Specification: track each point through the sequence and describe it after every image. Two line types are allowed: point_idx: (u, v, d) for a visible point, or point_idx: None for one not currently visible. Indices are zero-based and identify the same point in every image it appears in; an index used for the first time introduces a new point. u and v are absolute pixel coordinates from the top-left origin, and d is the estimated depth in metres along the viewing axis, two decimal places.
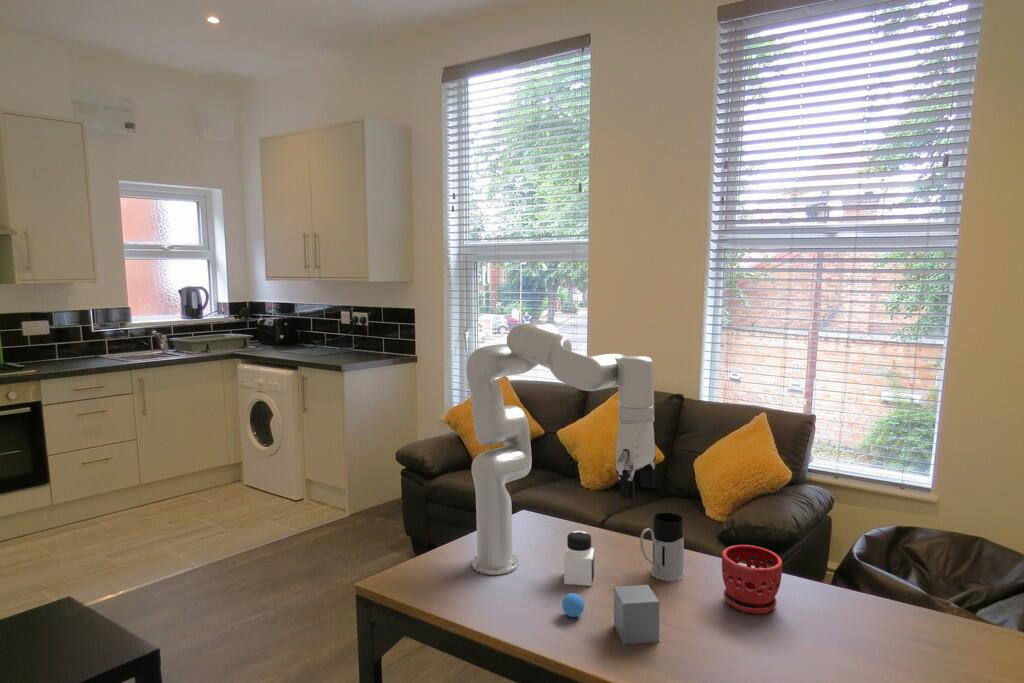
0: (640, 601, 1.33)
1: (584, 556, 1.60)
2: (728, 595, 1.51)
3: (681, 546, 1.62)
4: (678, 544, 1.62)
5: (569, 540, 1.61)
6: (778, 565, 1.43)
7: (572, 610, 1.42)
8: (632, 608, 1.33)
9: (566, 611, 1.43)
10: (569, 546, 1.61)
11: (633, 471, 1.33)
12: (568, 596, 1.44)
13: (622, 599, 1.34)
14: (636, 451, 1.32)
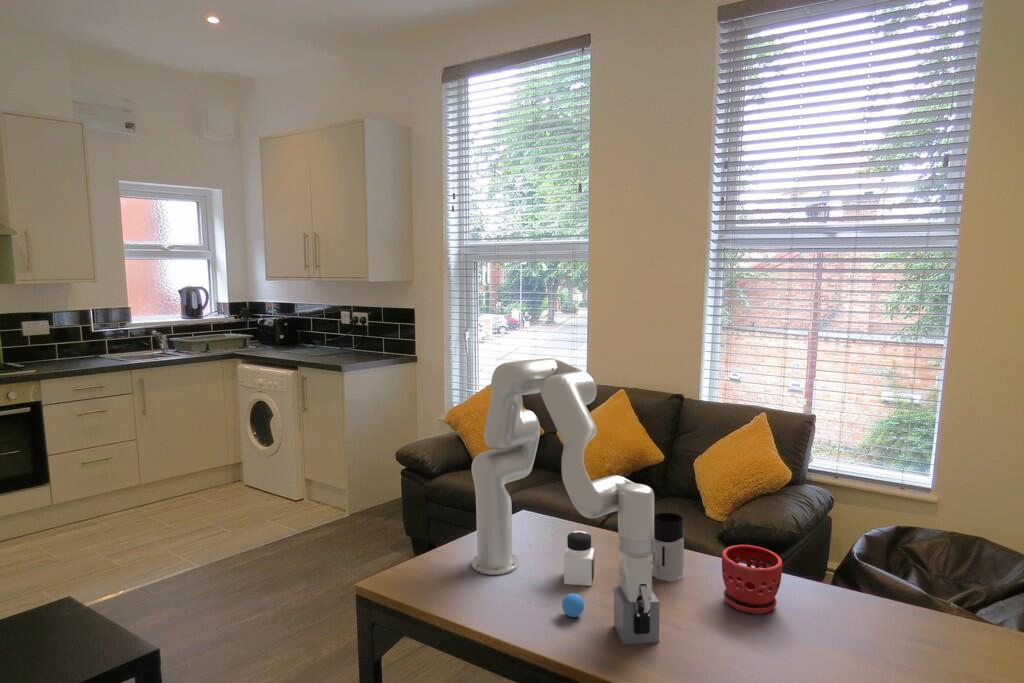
0: None
1: (584, 556, 1.60)
2: (728, 595, 1.51)
3: (681, 546, 1.62)
4: (678, 544, 1.62)
5: (569, 540, 1.61)
6: (778, 565, 1.43)
7: (572, 610, 1.42)
8: (633, 608, 1.33)
9: (566, 611, 1.43)
10: (569, 546, 1.61)
11: None
12: (568, 596, 1.44)
13: (622, 599, 1.34)
14: (651, 583, 1.32)
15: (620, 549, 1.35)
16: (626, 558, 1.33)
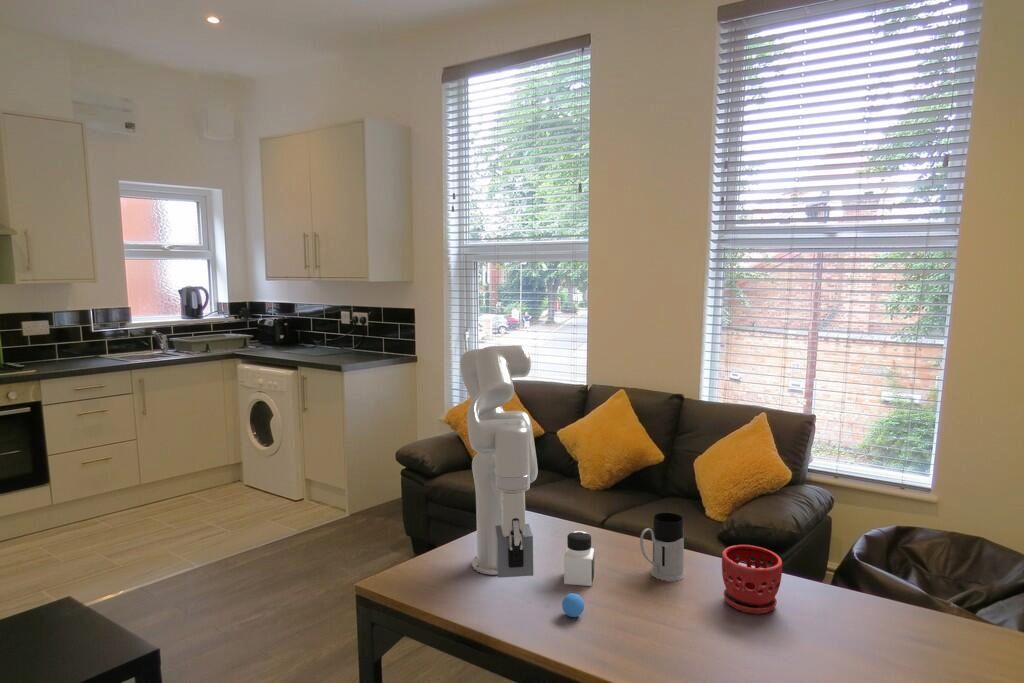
0: None
1: (584, 556, 1.60)
2: (728, 595, 1.51)
3: (681, 546, 1.62)
4: (678, 544, 1.62)
5: (569, 540, 1.61)
6: (778, 565, 1.43)
7: (572, 610, 1.42)
8: (507, 542, 1.38)
9: (566, 611, 1.43)
10: (569, 546, 1.61)
11: (521, 539, 1.38)
12: (568, 596, 1.44)
13: (498, 534, 1.40)
14: (524, 518, 1.38)
15: (496, 487, 1.40)
16: (502, 495, 1.39)
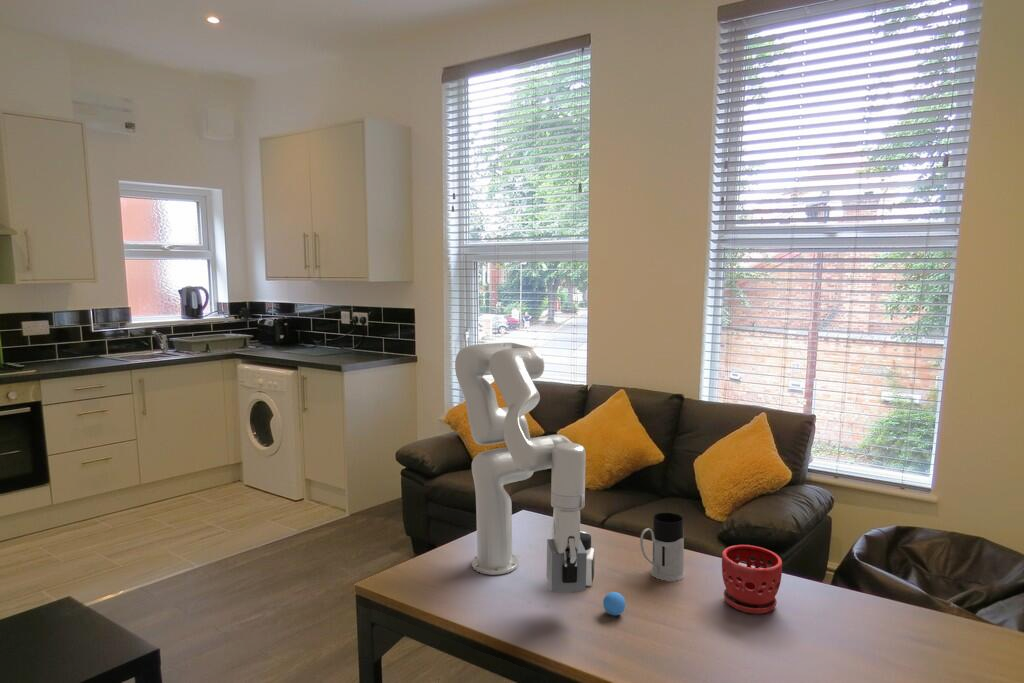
0: None
1: None
2: (728, 595, 1.51)
3: (681, 546, 1.62)
4: (678, 544, 1.62)
5: None
6: (778, 565, 1.43)
7: (618, 609, 1.43)
8: (561, 558, 1.41)
9: (623, 608, 1.44)
10: None
11: None
12: None
13: (552, 550, 1.42)
14: (579, 536, 1.40)
15: (552, 504, 1.42)
16: (557, 512, 1.41)
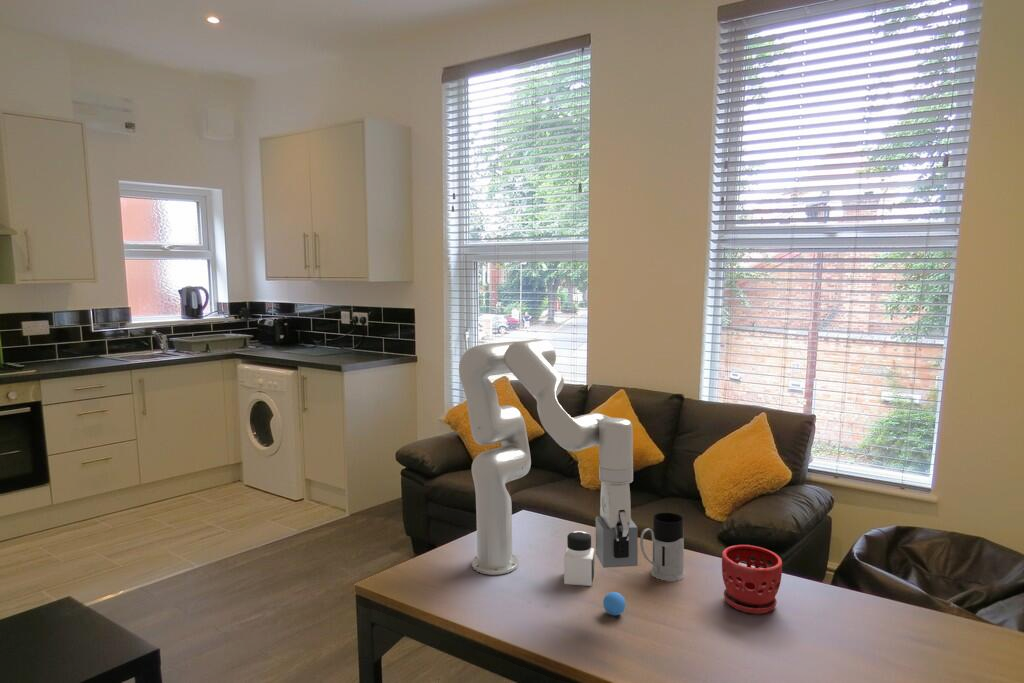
0: None
1: (584, 556, 1.60)
2: (728, 595, 1.51)
3: (681, 546, 1.62)
4: (678, 544, 1.62)
5: (569, 540, 1.61)
6: (778, 565, 1.43)
7: (618, 609, 1.43)
8: (612, 533, 1.40)
9: (623, 608, 1.44)
10: (569, 546, 1.61)
11: None
12: None
13: (602, 525, 1.42)
14: (630, 510, 1.40)
15: (601, 479, 1.42)
16: (607, 487, 1.41)
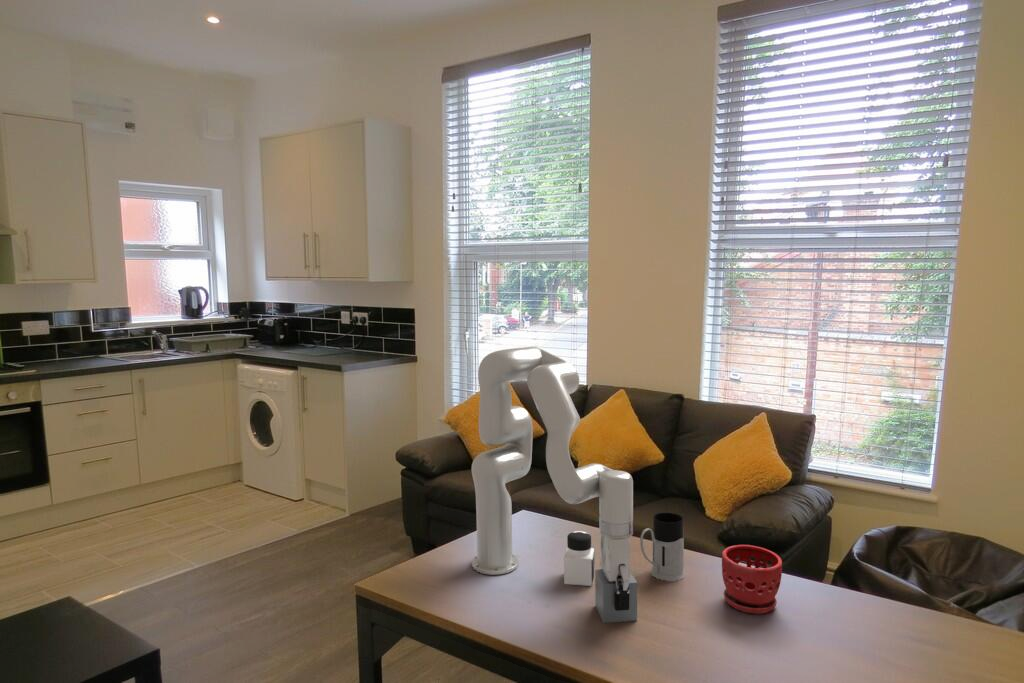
0: (619, 582, 1.42)
1: (584, 556, 1.60)
2: (728, 595, 1.51)
3: (681, 546, 1.62)
4: (678, 544, 1.62)
5: (569, 540, 1.61)
6: (778, 565, 1.43)
7: None
8: (612, 588, 1.41)
9: None
10: (569, 546, 1.61)
11: None
12: None
13: (602, 580, 1.43)
14: (630, 563, 1.41)
15: (601, 532, 1.43)
16: (607, 540, 1.42)
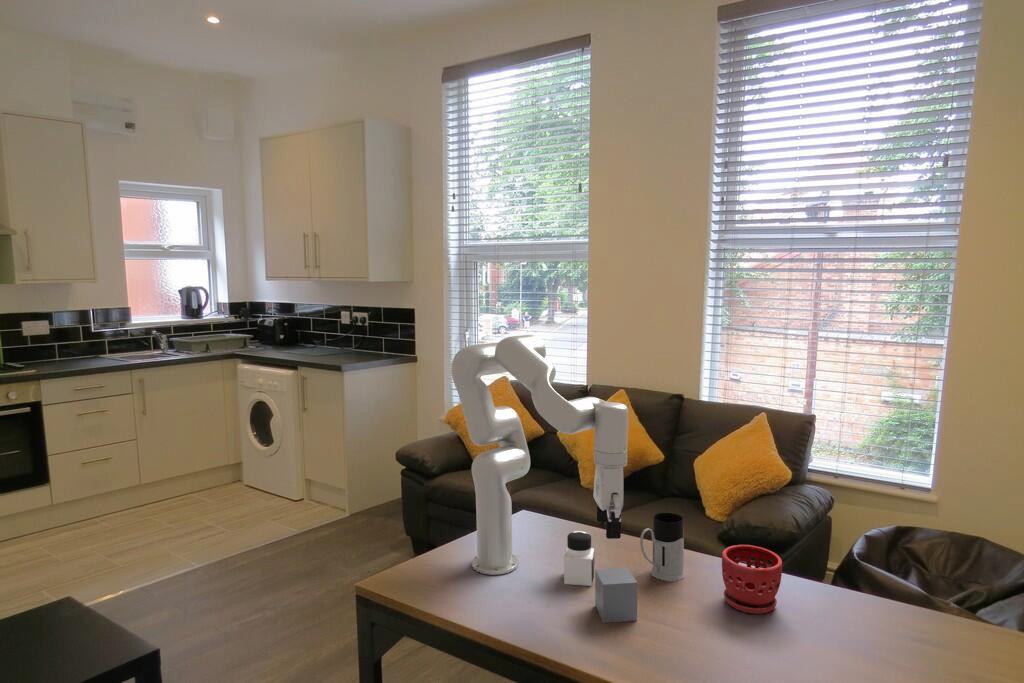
0: (619, 582, 1.42)
1: (584, 556, 1.60)
2: (728, 595, 1.51)
3: (681, 546, 1.62)
4: (678, 544, 1.62)
5: (569, 540, 1.61)
6: (778, 565, 1.43)
7: None
8: (612, 588, 1.41)
9: None
10: (569, 546, 1.61)
11: None
12: None
13: (602, 580, 1.43)
14: None
15: (595, 461, 1.44)
16: (600, 470, 1.43)
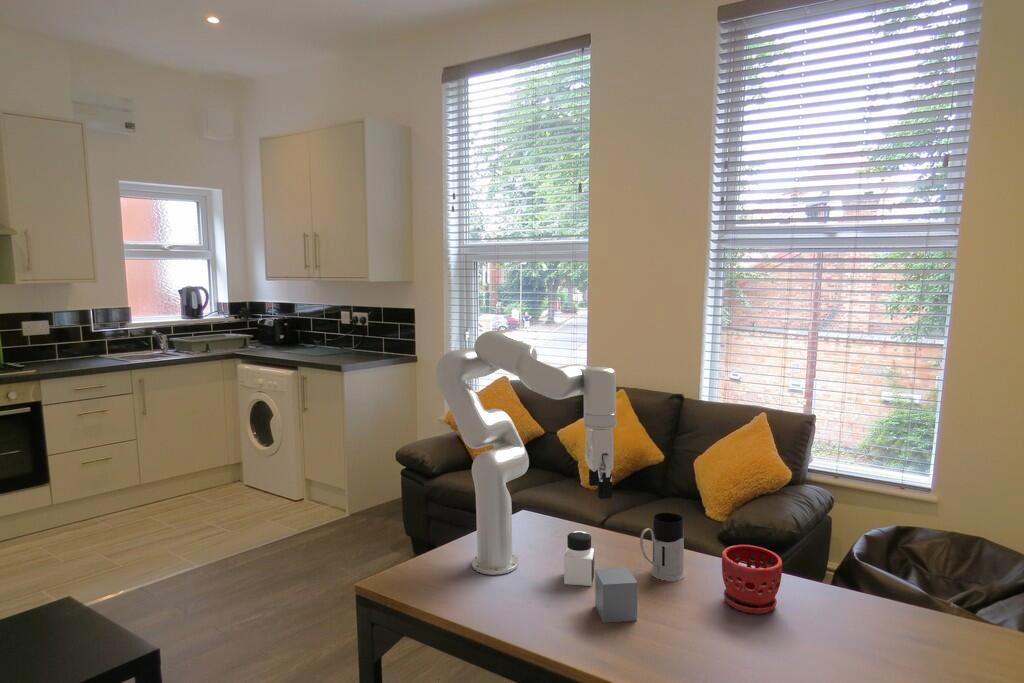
0: (619, 582, 1.42)
1: (584, 556, 1.60)
2: (728, 595, 1.51)
3: (681, 546, 1.62)
4: (678, 544, 1.62)
5: (569, 540, 1.61)
6: (778, 565, 1.43)
7: None
8: (612, 588, 1.41)
9: None
10: (569, 546, 1.61)
11: None
12: None
13: (602, 580, 1.43)
14: None
15: (585, 424, 1.48)
16: (591, 432, 1.47)
